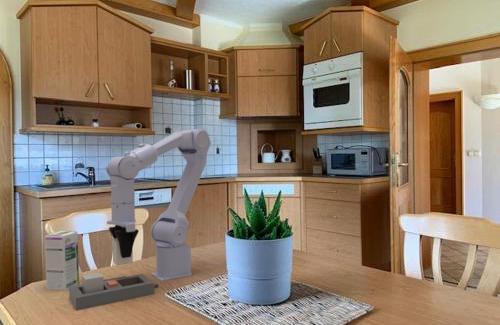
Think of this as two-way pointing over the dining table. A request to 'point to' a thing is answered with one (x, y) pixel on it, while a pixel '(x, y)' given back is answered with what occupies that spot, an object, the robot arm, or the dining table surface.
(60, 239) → the syrup box
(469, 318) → the dining table surface
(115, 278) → the mat
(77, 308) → the strip
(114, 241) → the plug
